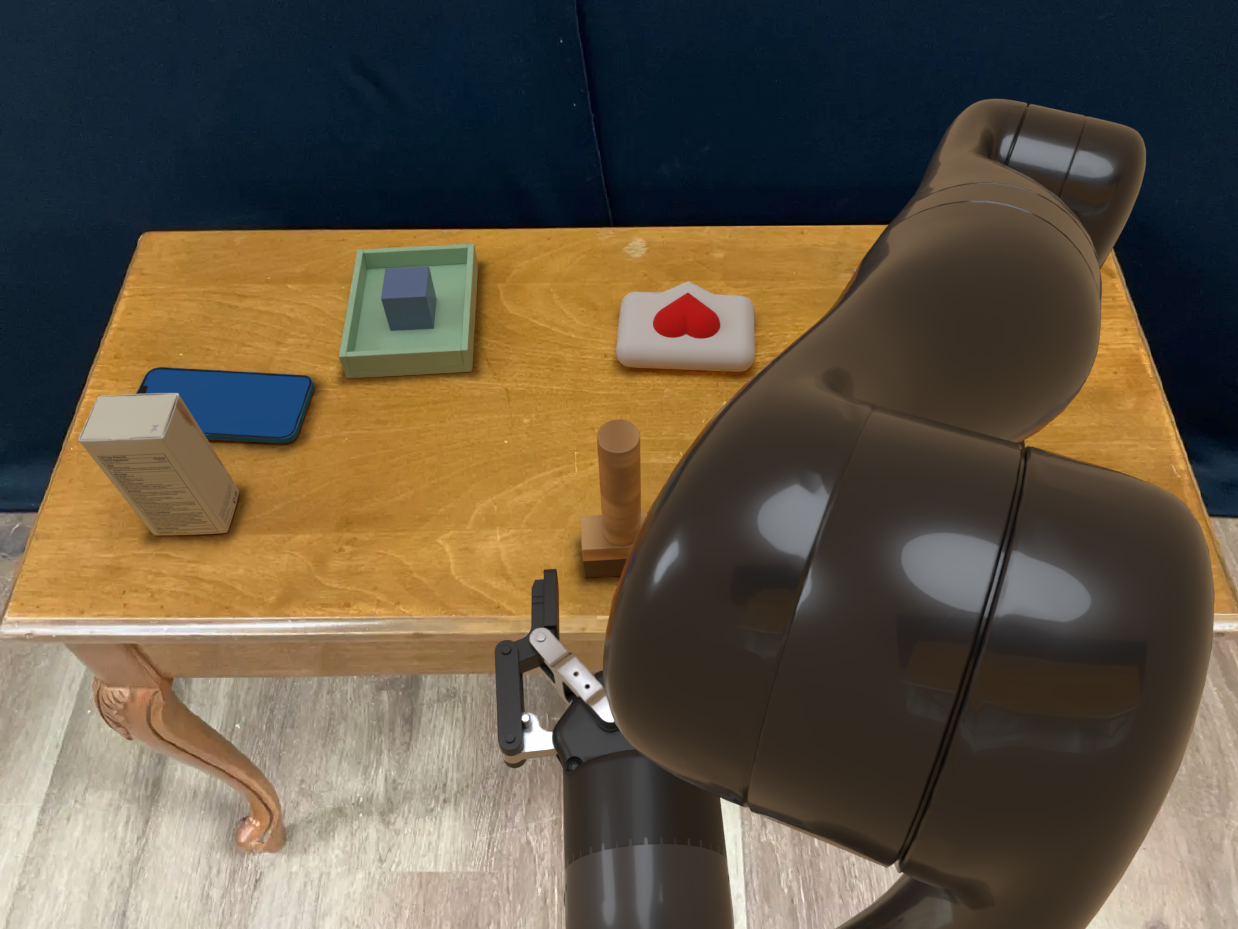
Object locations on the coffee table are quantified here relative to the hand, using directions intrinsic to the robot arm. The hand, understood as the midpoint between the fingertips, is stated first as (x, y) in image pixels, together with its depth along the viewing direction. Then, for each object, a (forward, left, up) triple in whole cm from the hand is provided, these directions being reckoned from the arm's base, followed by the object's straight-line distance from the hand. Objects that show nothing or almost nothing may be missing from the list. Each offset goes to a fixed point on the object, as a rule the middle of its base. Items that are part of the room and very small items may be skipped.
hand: (627, 572), depth 54 cm
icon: (-7, -35, -17) cm, 39 cm away
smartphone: (+34, -29, -17) cm, 47 cm away
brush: (0, -11, -17) cm, 20 cm away
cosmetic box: (+34, -18, -17) cm, 42 cm away
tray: (+18, -39, -17) cm, 46 cm away
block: (+18, -38, -16) cm, 45 cm away
